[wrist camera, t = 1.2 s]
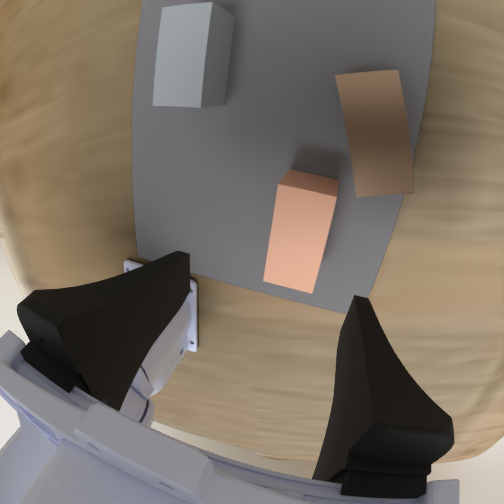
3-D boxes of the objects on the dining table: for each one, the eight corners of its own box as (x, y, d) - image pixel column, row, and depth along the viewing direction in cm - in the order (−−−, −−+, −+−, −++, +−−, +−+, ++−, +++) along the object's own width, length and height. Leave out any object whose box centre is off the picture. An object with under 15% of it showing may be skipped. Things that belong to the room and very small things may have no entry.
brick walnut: (402, 176, 17) (414, 192, 14) (354, 180, 18) (356, 197, 15) (387, 75, 14) (397, 69, 11) (336, 80, 15) (335, 75, 12)
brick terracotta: (318, 264, 22) (312, 293, 18) (275, 253, 22) (262, 281, 19) (338, 180, 18) (336, 197, 15) (289, 169, 19) (278, 183, 16)
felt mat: (359, 314, 23) (359, 317, 23) (140, 254, 27) (137, 256, 26) (433, 2, 11) (435, 1, 10) (149, -16, 14) (146, -17, 14)
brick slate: (224, 105, 18) (200, 107, 15) (182, 102, 19) (152, 105, 16) (235, 16, 15) (212, 1, 12) (190, 18, 15) (162, 7, 12)
